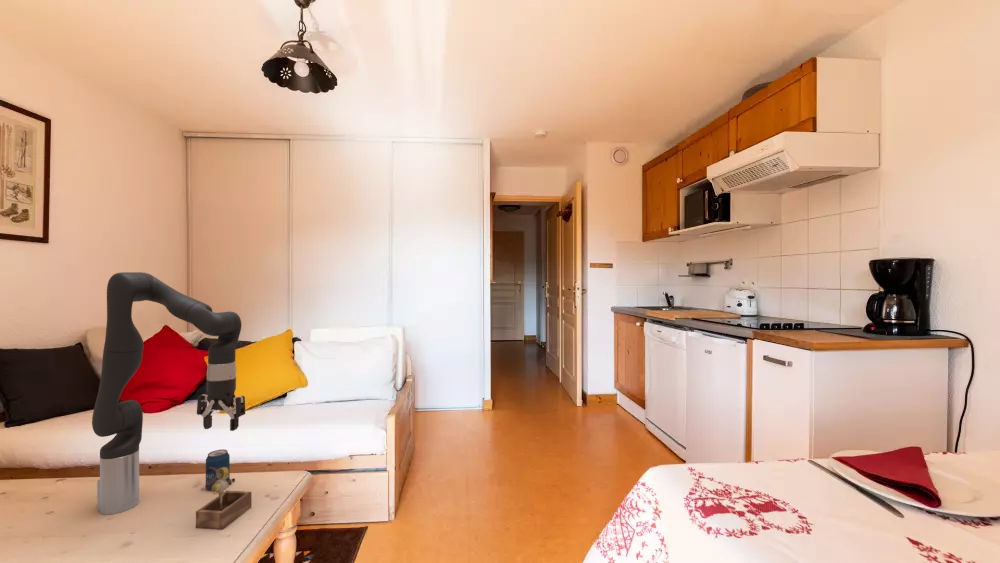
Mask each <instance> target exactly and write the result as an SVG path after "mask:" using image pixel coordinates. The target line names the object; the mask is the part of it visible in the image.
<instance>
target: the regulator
mask: <svg viewBox="0 0 1000 563" xmlns="http://www.w3.org/2000/svg"><path fill="white" fill-rule="evenodd" d="M228 474H229V470H228V468H227V467H222V468H219V469H218V470H217V472H216V476H217V478H218V480H217V481H216V482H215V483H214V485H213V486H212V492H213V493H216V494H218V496H219V497H220V509H221V511H222V508H223V506H222V497H223V496H224V492H225V491H227V489H228V487H229V486H231V485H232V484H233V483H235V481H236V478H230V479H229V480H227V481H226V480H225V479H226V477H227V476H228Z"/></svg>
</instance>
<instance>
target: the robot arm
mask: <svg viewBox="0 0 1000 563" xmlns="http://www.w3.org/2000/svg"><path fill="white" fill-rule="evenodd" d="M144 301H149V302H154V303H156V304H160V305H162V306H164V307H165V308H166V310H167V311H168V312H169V313H170V315H172V316H174V317H176V318H177V319H179V320H181V321H184V322H186V323H189V324H191V325H193V326H194V327H195V328H197V329H198V330H199V331H200V332H202V333H203V334H205V335H208V336H212V337H217V340H216V341H214V343H212V344H210V346H208V349H207V350H208V352H207V368H206V369H207V370H206V393H202V394H201V395H197V400H196V401H197V402H196V404H197V405H196V414H197V416H201V417H202V418H203V421H202V422H203V423H202V425H203V430H204V429H205V430H209V429H211V428H212V427H213V413H214V411H220V412H221V411H222V412H225V413H226V414H228V415H229V418H230V419H229V431H230V432H234V431H236V430H238V428H239V426H240V425H239V420H240V419H239V418H240V417H242V416H245V415H246V398H245V397H246V396H245V395H240V396H236V395H235V393H236V390H237V365H236V363H237V362H236V347H237V345H238V342H239V339H240V338H239V337H240V335H241V331H242V320H241V317H240V315H239V314H238V313H237V312H234V311H222V312H215V311H213V308H212V307H211V306H210V305H209V304H207V303H205V302H202V301H200V300H197V299H195V298H192V297H191V296H188V295H186V294H184V293H181V291H178V290H176V289H174V288H173V287H171V286H170V285H168V284H167V283H165V282H163V281H161V279H159V278H157V277H155V276H154V275H152V274H150V273H148V272H141V271H140V272H139V271H138V272H134V271H133V272H130V271H129V272H127V271H124V272H117V273H114V274H113V275H112V276H111V277H110V278H109V280H108V282H107V285H106V328H105V329H106V330H105V338H104V344H103V349H102V350H103V351H102V352H103V353H102V362H101V363H102V364H101V373H100V379H99V380H100V381H99V387H98V392H97V396H96V399H95V403H94V407H93V412H92V417H91V426H92V430H93V433H94V434H95V435H96V436H97V437H101V438H104V437H105V438H106V437H109V436H113V435H115V436H114V437H113V438H112V439H111V440H109V441H108V442H106V443H105V444H104V445H103V446H102V447H100V450H99V479H98V480H97V482H96V488H97V489H96V490H97V491H96V493H97V494H96V495H97V496H96V500H97V501H96V503H97V504H96V506H97V507H96V511H97V512H99V513H100V514H101V515H106V516H108V515H109V516H110V515H116V514H119V513H123V512H126V511H128V510H130V509H133V508H134V507H136V506H137V505H138V504H139V503H140V444H141V442H142V438H143V423H144V421H143V420H144V413H143V408H142V406H141V404H140V403H139V402H138V401H137V400H134V399H130V400H129V399H128V400H124V401H120V398H121V395H122V392H123V391H124V388H125V387H126V386H127V384H128V383H129V381H130V380H131V379H132V378H133V377H134V375H135V374H136V373H137V371H138V369H139V368H140V366H141V364H142V361H143V354H144V353H143V352H144V345H145V344H144V340H143V337H142V335H141V334H140V332H139V330H138V329H137V327H136V325H135V323H134V322H133V319H132V315H133V314H132V312H133V305H134V304H133V303H134V302H135V303H136V302H144ZM119 401H120V402H119Z"/></svg>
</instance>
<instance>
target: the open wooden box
mask: <svg viewBox="0 0 1000 563" xmlns="http://www.w3.org/2000/svg"><path fill="white" fill-rule="evenodd" d="M223 492H224V496H223V497H222V506H223V508H222V511H221V509H220V497H219V495H218V496H217V497H215V498H213V499H212V500H211V501H209V502H207V503H206V504H205V505H203V506H202V507H201V508H199V509H197V510H196V511H195V528H196V529H203V530H219V531H222V530H224V529H226V528H227V527H229V525H231V524H232V523H233V522H235V521H236V520H237V519H238V518H240V517H241V516H242V515H243V514H245V513H246V512H247V511H249V510H250V509H251V508H252V491H245V490H244V491H242V490H224V491H223Z"/></svg>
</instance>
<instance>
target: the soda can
mask: <svg viewBox="0 0 1000 563" xmlns="http://www.w3.org/2000/svg"><path fill="white" fill-rule="evenodd" d="M230 457H231V456H230V453H229V452H228V450H227V449H216V450H212V451H210V452H208V453H207V456H206V459H205V488H206V489H207V490H208V491H212V486H213V485H214V483H215V482H216V481H217V480H218V478H217V476H216V472H217V470H218V469H219V468H222V467H227V468H228V470H229V474H228V476H227V477H226V479H225V480H226V481H227V480H229V479H231V477H230V475H231V474H230V472H231V471H230V467H231V466H230V464H231V463H230ZM212 492H213V491H212Z"/></svg>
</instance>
